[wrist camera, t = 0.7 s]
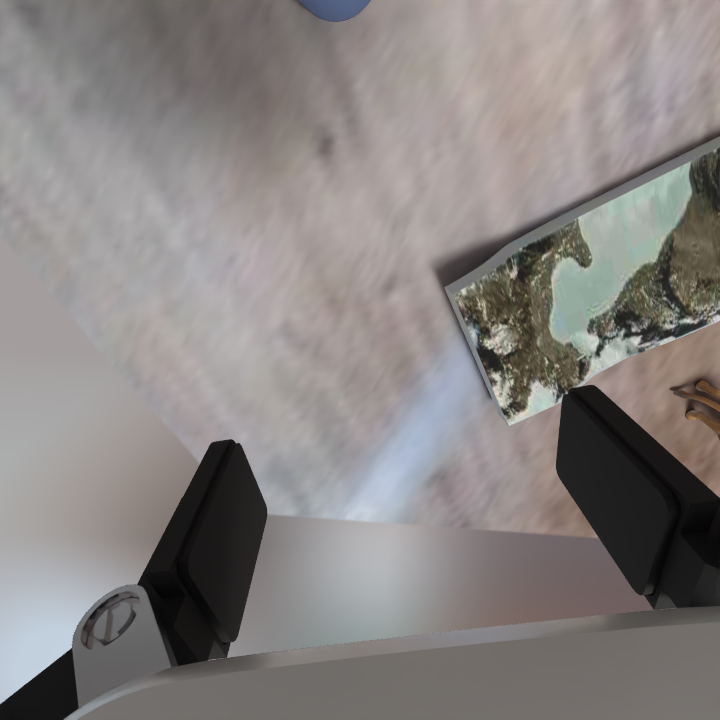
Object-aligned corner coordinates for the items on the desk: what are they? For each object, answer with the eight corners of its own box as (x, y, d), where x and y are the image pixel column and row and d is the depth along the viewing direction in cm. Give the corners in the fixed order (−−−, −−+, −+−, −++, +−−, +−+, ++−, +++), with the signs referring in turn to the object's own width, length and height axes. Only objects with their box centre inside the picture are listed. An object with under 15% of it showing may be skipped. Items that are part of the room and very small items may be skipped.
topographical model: (735, 123, 29) (807, 122, 25) (725, 284, 37) (779, 304, 33) (438, 280, 33) (457, 301, 29) (486, 396, 41) (507, 426, 37)
